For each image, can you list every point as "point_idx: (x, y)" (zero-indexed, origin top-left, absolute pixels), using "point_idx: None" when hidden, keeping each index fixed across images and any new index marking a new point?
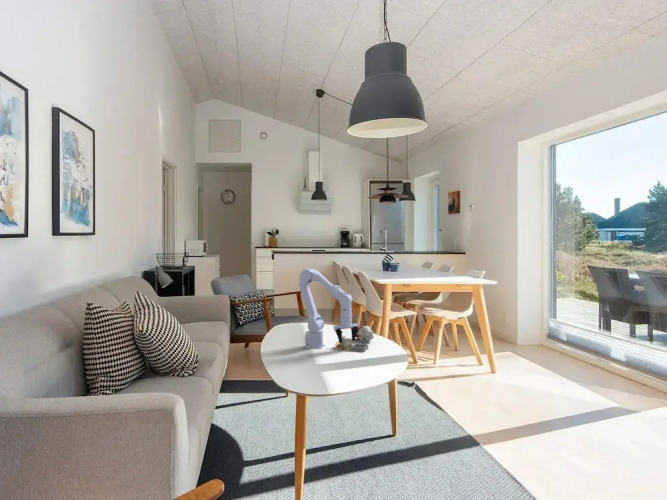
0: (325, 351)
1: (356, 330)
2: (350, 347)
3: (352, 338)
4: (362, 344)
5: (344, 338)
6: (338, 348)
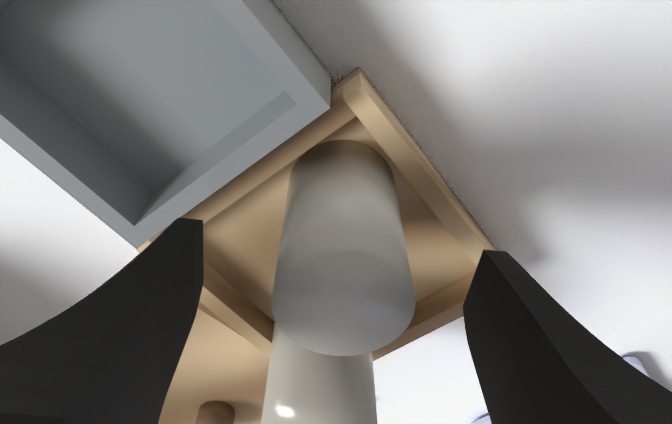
0: (631, 276)
1: (9, 387)
2: (241, 231)
3: (191, 298)
4: (27, 133)
5: (319, 384)
6: (478, 234)
